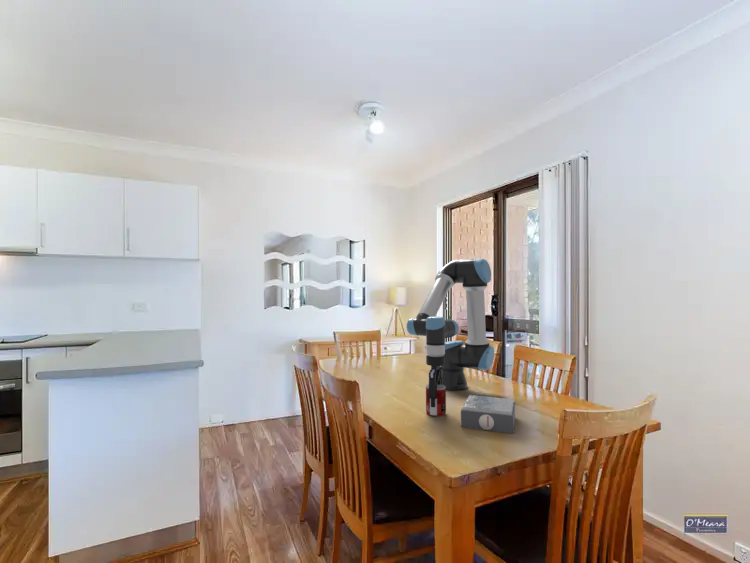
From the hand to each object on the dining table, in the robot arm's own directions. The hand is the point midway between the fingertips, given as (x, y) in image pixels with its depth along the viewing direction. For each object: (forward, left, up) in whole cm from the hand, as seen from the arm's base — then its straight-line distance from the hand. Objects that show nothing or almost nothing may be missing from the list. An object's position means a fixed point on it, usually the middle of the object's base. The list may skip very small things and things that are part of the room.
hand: (435, 411), depth 158 cm
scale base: (+3, +21, -1) cm, 21 cm away
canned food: (0, 0, -1) cm, 1 cm away
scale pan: (+3, +21, +5) cm, 22 cm away
